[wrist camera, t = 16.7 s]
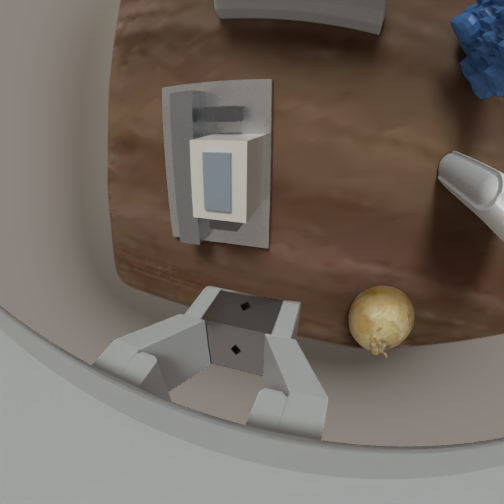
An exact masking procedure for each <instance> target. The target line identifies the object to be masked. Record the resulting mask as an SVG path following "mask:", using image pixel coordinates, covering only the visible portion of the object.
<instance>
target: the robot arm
mask: <svg viewBox="0 0 504 504" xmlns="http://www.w3.org/2000/svg"><path fill="white" fill-rule="evenodd" d="M300 309H301V303H300V302H295V301H288V300H278V299H272V298H266V297H261V296H255V295H251V294H246V293H241V292H237V291H232V290H227V289H222V288H217V287H213V286H207V287H205V288H204V290H203V291H202V292H201V294H200V295H199V296H198V297H197V299H196V300H195V301H194V303H193V304H192V305H191V306H190V308H189V309H188V310H187V312H186V313H185V315H182V314H179V315H176V316H174V317H171V318H168V319H166V320H163V321H161V322H158V323H156V324H153V325H151V326H148V327H146V328H143V329H141V330H138V331H136V332H133V333H130V334H128V335H125V336H123V337H120V338H118V339H115V340H114V341H113V342H112V343H111V344H110V345H109V347H108V348H107V349H106V350H105V351H104V352H103V353H102V354H101V356H100V357H99V358H98V359H97V360H96V361H95V362H94V363H93V364H92V365H90V364H88V363H86V362H85V361H83V360H81V359H79V358H77V357H76V356H74V355H72V354H70V353H68V352H67V351H65V350H64V349H62V348H60V347H59V346H57V345H55V344H54V343H52V342H51V341H49V340H47V339H46V338H45V337H43V336H42V335H40V334H38V333H37V332H36V331H34V330H33V329H31V328H30V327H28V326H27V325H25V324H24V323H23V322H21V321H20V320H18V319H17V318H16V317H14V316H13V315H12V314H10V313H9V312H8V311H6V310H5V309H4V308H3V307H1V306H0V504H504V438H499V439H493V440H487V441H480V442H473V443H464V444H454V445H441V446H416V447H398V446H370V445H357V444H346V443H337V442H329V441H322V440H321V437H322V433H323V427H324V422H325V416H326V410H327V403H328V398H327V396H326V393H325V392H324V390H323V388H322V386H321V384H320V383H319V381H318V379H317V377H316V376H315V374H314V372H313V370H312V368H311V366H310V364H309V362H308V361H307V359H306V357H305V355H304V353H303V352H302V350H301V348H300V346H299V344H298V342H297V341H296V336H297V330H298V323H299V316H300ZM211 364H216V365H219V366H224V367H228V368H232V369H237V370H240V371H244V372H248V373H252V374H256V375H260V376H263V379H264V383H265V386H266V388H265V389H263V390H261V391H259V393H258V396H257V398H256V401H255V403H254V406H253V408H252V411H251V413H250V415H249V418H248V420H247V423H246V425H242V424H239V423H235V422H231V421H228V420H224V419H221V418H218V417H214V416H211V415H208V414H205V413H202V412H199V411H196V410H193V409H190V408H187V407H184V406H182V405H179V404H176V403H173V402H171V399H170V396H169V393H168V391H170V390H172V389H173V388H175V387H177V386H178V385H180V384H181V383H183V382H185V381H186V380H188V379H189V378H191V377H193V376H194V375H196V374H197V373H199V372H200V371H202V370H203V369H205V368H207V367H208V366H210V365H211Z"/></svg>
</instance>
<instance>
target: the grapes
mask: <svg viewBox="0 0 504 504" xmlns="http://www.w3.org/2000/svg"><path fill="white" fill-rule="evenodd" d="M477 2H478V4H474V5H470V6H469V7H468V8H466V9H465V10H464V11H463V13H460V14H458V15H457V16H456V17H454V18H453V19H452V20H451V21H450V23H451V25H452V28H453V30H454V32H455V34H456V36H457V37H458V39H459V43H460V45H461V48H462V50H463V51H464V52H465V54H466V55H467V57H466V58H464V59H463V60H462V61H461V62H460V67H461V70H462V72H463V75H464V76H465V78H466V79H467V80H468V81H469V82H470V85H471V88H472V90H473V92H474V93H475V95H476V96H477V97H479V98H480V99H488V98H490V97H492V96H493V95H496V96H497V97H504V0H477Z"/></svg>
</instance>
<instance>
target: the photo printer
mask: <svg viewBox="0 0 504 504" xmlns="http://www.w3.org/2000/svg"><path fill="white" fill-rule="evenodd" d="M438 174H439V176H438V179H439V180H440V182H441V183H442V184H443V185H444V186H445V187H446V188H447V189H448V190H449V191H450V192H451V193H452V194H453V195H454V196H455V197H457V198H458V199H459V200H460V201H461V202H462V203H463V204H464V205H466V206H467V207H468V208H469V209H470V210H471V211H472V212H474V213H475V214H476V215H477V216H478V217H479V218H480V219H481V220H482V221H483V222H484V223H485V224H486V225H487V226H488V227H489V228H490V229H491V230H492V231H493V232H494V233H495V234H496V235H497V236H498V237H499V238H500V239H501V240H502V241H503V242H504V174H503V173H502V172H500V171H498V170H496V169H494V168H492V167H490V166H488V165H486V164H484V163H482V162H480V161H478V160H475V159H473V158H471V157H469V156H466V155H464V154H462V153H459V152H457V151H452V153H450V154H447V155H446V156H444V157H443V159H442V160H441V162H440V164H439V168H438Z"/></svg>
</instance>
